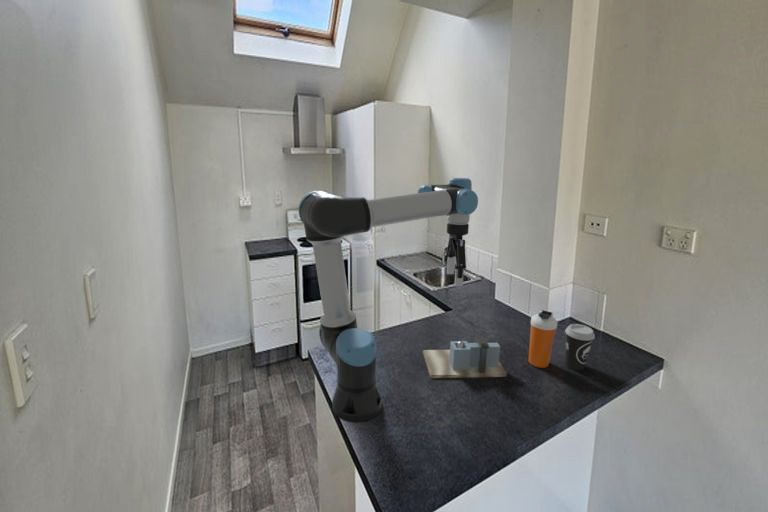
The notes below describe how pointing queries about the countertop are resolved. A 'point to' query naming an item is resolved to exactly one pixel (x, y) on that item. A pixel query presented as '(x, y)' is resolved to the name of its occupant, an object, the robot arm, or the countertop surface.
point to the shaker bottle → (541, 338)
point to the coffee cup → (577, 345)
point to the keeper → (482, 352)
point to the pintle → (460, 344)
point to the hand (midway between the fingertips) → (454, 279)
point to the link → (472, 355)
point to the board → (443, 369)
